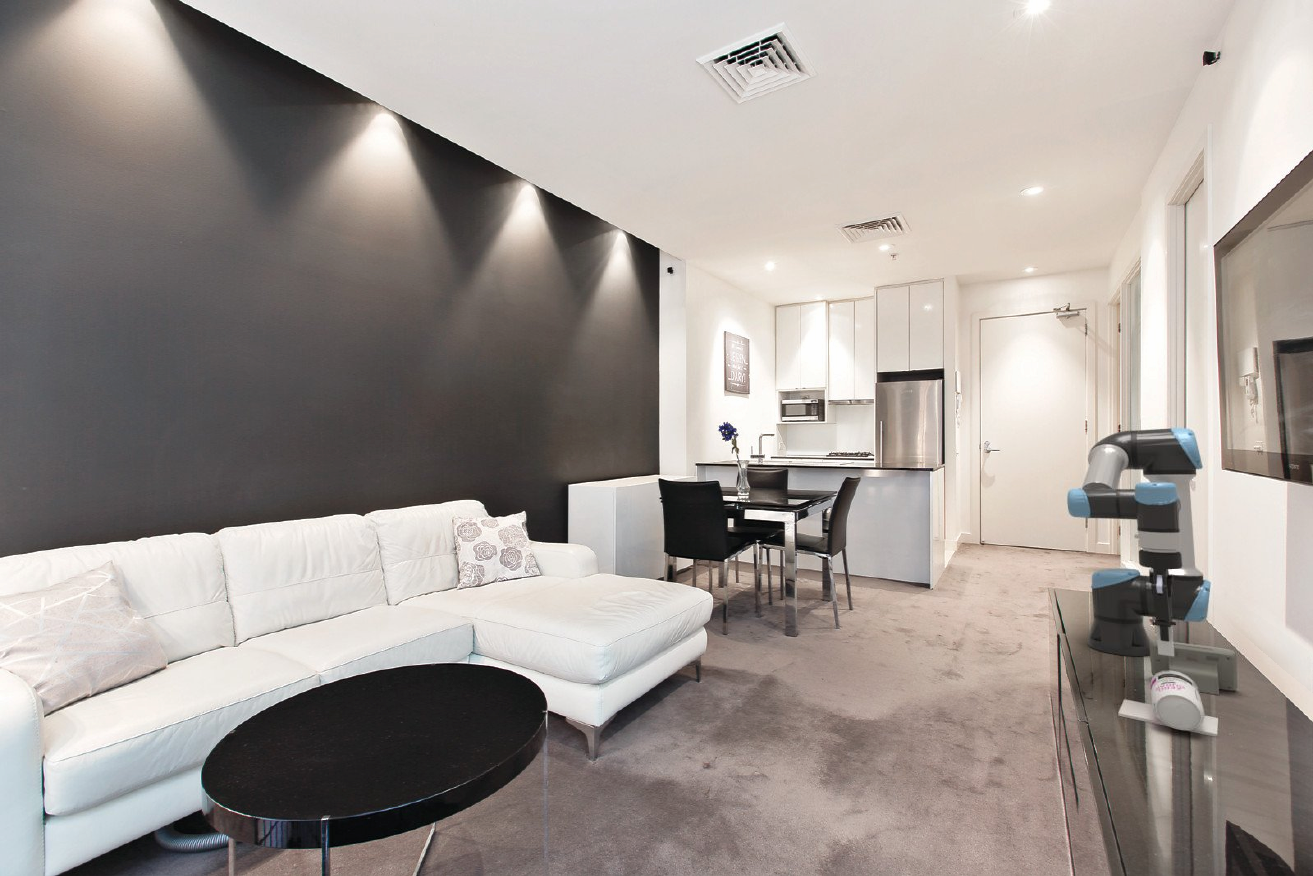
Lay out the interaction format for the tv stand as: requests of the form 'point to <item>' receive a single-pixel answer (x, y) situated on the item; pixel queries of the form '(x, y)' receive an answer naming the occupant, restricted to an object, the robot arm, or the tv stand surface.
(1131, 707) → the mat
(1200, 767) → the tv stand surface
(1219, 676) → the digital clock
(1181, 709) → the supplement can
